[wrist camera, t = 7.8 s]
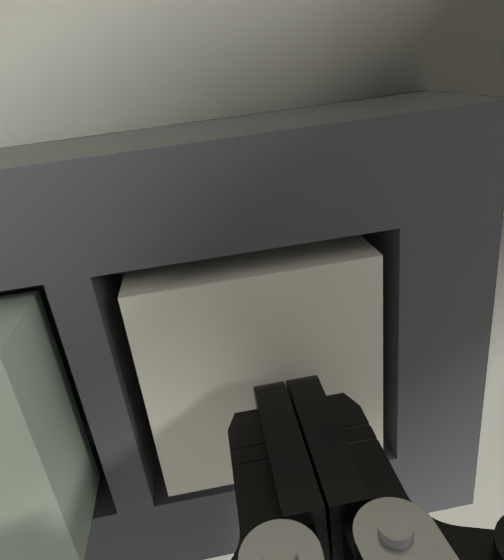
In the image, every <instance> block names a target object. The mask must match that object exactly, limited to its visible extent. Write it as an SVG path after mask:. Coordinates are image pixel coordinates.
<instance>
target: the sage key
mask: <svg viewBox="0 0 504 560" xmlns="http://www.w3.org/2000/svg"><path fill="white" fill-rule="evenodd" d="M99 480H100V474H99V471H98V468H97V465H96V462H95V459H94V456H93V453H92V450H91V446H90V443H89V440H88V437H87V434H86V431H85V428H84V425H83V422H82V419H81V416H80V413H79V410H78V407H77V404H76V401H75V398H74V395H73V392H72V389H71V386H70V383H69V380H68V377H67V374H66V371H65V368H64V365H63V362H62V359H61V356H60V353H59V350H58V347H57V344H56V341H55V338H54V335H53V332H52V329H51V326H50V322H49V319H48V316H47V313H46V310H45V307H44V304H43V301H42V298H41V295H40V292H39V290H36V291H29V292H23V293H17V294H10V295H4V296H0V560H84V558H85V553H86V547H87V542H88V537H89V532H90V527H91V522H92V516H93V511H94V506H95V501H96V496H97V491H98V485H99Z"/></svg>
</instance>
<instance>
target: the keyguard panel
mask: <svg viewBox="0 0 504 560" xmlns="http://www.w3.org/2000/svg"><path fill="white" fill-rule="evenodd" d="M503 211H504V97H496V96H484V95H472V94H460V93H448V92H436V91H421V92H414V93H406V94H399V95H391V96H384V97H377V98H369V99H362V100H354V101H347V102H339V103H332V104H325V105H317V106H310V107H302V108H295V109H287V110H280V111H273V112H265V113H258V114H250V115H243V116H235V117H228V118H221V119H213V120H206V121H198V122H191V123H183V124H176V125H169V126H161V127H154V128H146V129H139V130H132V131H124V132H117V133H109V134H102V135H94V136H87V137H80V138H72V139H65V140H57V141H50V142H42V143H35V144H28V145H20V146H13V147H5V148H0V296H4V295H10V294H17V293H23V292H29V291H36V290H39V292H40V295H41V298H42V301H43V304H44V307H45V310H46V313H47V316H48V319H49V322H50V326H51V329H52V332H53V335H54V338H55V341H56V344H57V347H58V350H59V353H60V356H61V359H62V362H63V365H64V368H65V371H66V374H67V377H68V380H69V383H70V386H71V389H72V392H73V395H74V398H75V401H76V404H77V407H78V410H79V413H80V416H81V419H82V422H83V425H84V428H85V431H86V434H87V437H88V440H89V443H90V446H91V450H92V453H93V456H94V459H95V462H96V465H97V468H98V471H99V474H100V480H99V485H98V491H97V496H96V501H95V506H94V511H93V516H92V522H91V527H90V532H89V537H88V542H87V547H86V553H85V558H84V560H203V559H208V558H213V557H218V556H222V555H227V554H232V553H235V552H236V549H237V546H238V543H239V537H240V528H239V520H238V511H237V503H236V495H235V487H234V484H230V485H225V486H220V487H215V488H210V489H205V490H200V491H195V492H190V493H185V494H179V495H174V496H168V492H167V489H166V485H165V481H164V477H163V473H162V469H161V465H160V461H159V457H158V454H157V450H156V446H155V442H154V438H153V434H152V430H151V426H150V422H149V419H148V415H147V411H146V407H145V403H144V399H143V395H142V391H141V387H140V384H139V380H138V376H137V372H136V368H135V364H134V360H133V356H132V353H131V349H130V345H129V341H128V337H127V333H126V329H125V325H124V321H123V318H122V314H121V310H120V306H119V302H118V295H119V291H120V288H121V284H122V280H123V276H124V273H125V272H127V271H133V270H140V269H146V268H152V267H159V266H165V265H171V264H178V263H184V262H190V261H197V260H203V259H210V258H216V257H222V256H229V255H235V254H241V253H248V252H254V251H260V250H267V249H273V248H279V247H286V246H292V245H298V244H305V243H311V242H317V241H324V240H330V239H336V238H343V237H349V236H355V235H361V236H362V237H363V238H364V239H365V240H366V241H367V242H369V243H370V244H371V245H372V246H373V247H374V248H375V249H376V250H377V251H378V252H380V253H381V254H382V255H383V450H384V452H385V454H386V456H387V458H388V460H389V461H390V463H391V465H392V467H393V469H394V471H395V473H396V475H397V477H398V479H399V480H400V482H401V484H402V486H403V488H404V490H405V492H406V494H407V495H408V497H409V499H410V500H411V501H412V502H413V503H414V504H416V505H418V506H420V507H421V508H422V509H424V510H425V511H426V512H427V513H429V512H434V511H439V510H444V509H449V508H453V507H458V506H463V505H468V504H473V495H474V486H475V476H476V467H477V457H478V448H479V438H480V429H481V419H482V410H483V400H484V391H485V381H486V372H487V363H488V353H489V344H490V334H491V325H492V315H493V306H494V296H495V287H496V277H497V268H498V258H499V249H500V239H501V230H502V220H503Z"/></svg>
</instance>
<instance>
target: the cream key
mask: <svg viewBox="0 0 504 560" xmlns="http://www.w3.org/2000/svg"><path fill="white" fill-rule="evenodd" d="M118 302H119V306H120V310H121V314H122V318H123V321H124V325H125V329H126V333H127V337H128V341H129V345H130V349H131V353H132V356H133V360H134V364H135V368H136V372H137V376H138V380H139V384H140V387H141V391H142V395H143V399H144V403H145V407H146V411H147V415H148V419H149V422H150V426H151V430H152V434H153V438H154V442H155V446H156V450H157V454H158V457H159V461H160V465H161V469H162V473H163V477H164V481H165V485H166V489H167V492H168V496H174V495H179V494H185V493H190V492H195V491H200V490H205V489H210V488H215V487H220V486H225V485H230V484H234V479H233V471H232V463H231V455H230V447H229V439H228V428H229V426H230V423H231V421H232V418H233V416H234V414H235V413H238V412H243V411H249V410H254V409H256V403H255V397H254V390H253V387H254V386H259V385H265V384H270V383H275V382H281V381H284V383H285V385H286V380H291V379H296V378H302V377H307V376H313V375H317V376H318V378H319V380H320V383H321V385H322V387H323V389H324V392H325V394H326V396H328V395H333V394H338V393H345V394H346V395H347V396H349V397H350V398H351V399H352V400H354V401H355V402H356V403H358V404H359V405H360V406H361V408H362V410H363V412H364V414H365V416H366V418H367V420H368V422H369V425H370V426H371V427H372V429H373V431H374V433H375V435H376V438H377V440H378V441H379V442H380V444H381V446H382V448H383V255H382V254H381V253H380V252H378V251H377V250H376V249H375V248H374V247H373V246H372V245H371V244H370V243H369V242H367V241H366V240H365V239H364V238H363V237H362V236H361V235H355V236H349V237H343V238H336V239H330V240H324V241H317V242H311V243H305V244H298V245H292V246H286V247H279V248H273V249H267V250H260V251H254V252H248V253H241V254H235V255H229V256H222V257H216V258H210V259H203V260H197V261H190V262H184V263H178V264H171V265H165V266H159V267H152V268H146V269H140V270H133V271H127V272H125V273H124V276H123V280H122V284H121V288H120V291H119V295H118Z"/></svg>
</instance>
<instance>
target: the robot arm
mask: <svg viewBox="0 0 504 560" xmlns="http://www.w3.org/2000/svg"><path fill="white" fill-rule="evenodd" d="M253 390H254V397H255V403H256V409H254V410H249V411H243V412H238V413H235V414H234V416H233V418H232V421H231V423H230V426H229V428H228V439H229V447H230V455H231V463H232V471H233V479H234V487H235V495H236V503H237V511H238V520H239V528H240V537H239V543H238V546H237V549H236V552H235V554H234V556H233V557H232V559H231V560H504V516H502V517H501V518H500V519H499V521H498V522H497V524H496V527H495V530H492V529H481V528H471V527H461V526H455V525H450V524H446V523H443V522H440V521H438V520H435V519H434V518H432V517H431V516H430V515H429V514H428V513H427V512H426V511H425V510H424V509H422V508H421V507H420V506H418V505H416V504H414V503H413V502H412V501H411V500H410V499H409V497H408V495H407V494H406V492H405V490H404V488H403V486H402V484H401V482H400V480H399V479H398V477H397V475H396V473H395V471H394V469H393V467H392V465H391V463H390V461H389V460H388V458H387V456H386V454H385V452H384V450H383V448H382V446H381V444H380V442H379V441H378V440H377V438H376V435H375V433H374V431H373V429H372V427H371V426H370V425H369V422H368V420H367V418H366V416H365V414H364V412H363V410H362V408H361V406H360V405H359V404H358V403H356V402H355V401H354V400H352V399H351V398H350V397H349V396H347V395H346V394H345V393H338V394H333V395H328V396H326V394H325V392H324V389H323V387H322V385H321V383H320V380H319V378H318V376H317V375H313V376H307V377H302V378H296V379H291V380H286V385H285V383H284V381H281V382H275V383H270V384H265V385H259V386H254V387H253Z"/></svg>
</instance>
